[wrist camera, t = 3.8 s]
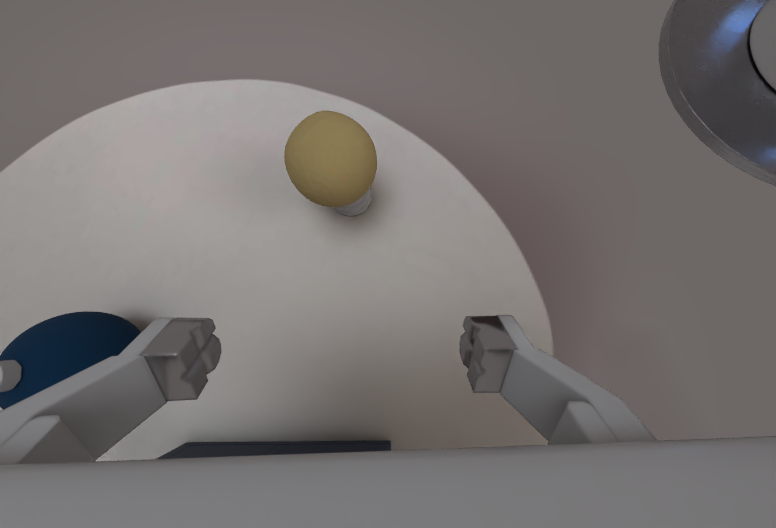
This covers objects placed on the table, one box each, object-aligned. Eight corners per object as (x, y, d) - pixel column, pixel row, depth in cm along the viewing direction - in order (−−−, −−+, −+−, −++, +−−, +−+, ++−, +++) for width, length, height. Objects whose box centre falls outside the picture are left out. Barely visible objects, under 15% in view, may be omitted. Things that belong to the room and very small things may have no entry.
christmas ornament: (88, 414, 27) (-100, 468, 17) (90, 321, 29) (-81, 322, 19) (175, 398, 26) (30, 445, 17) (171, 305, 28) (38, 297, 18)
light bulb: (306, 206, 28) (248, 147, 19) (349, 156, 29) (313, 73, 19) (357, 245, 27) (322, 204, 17) (400, 192, 28) (390, 123, 18)
